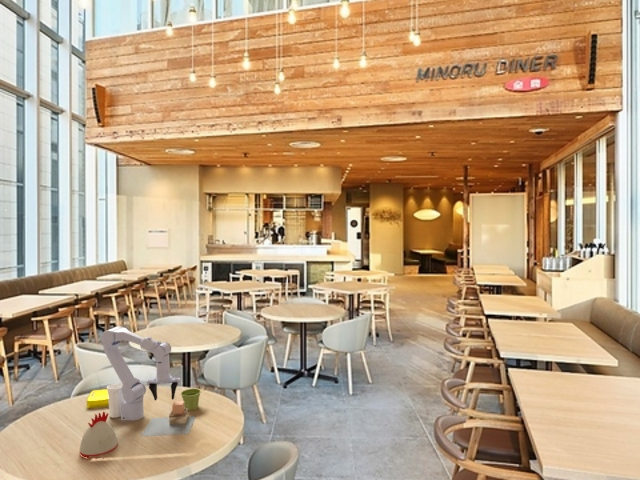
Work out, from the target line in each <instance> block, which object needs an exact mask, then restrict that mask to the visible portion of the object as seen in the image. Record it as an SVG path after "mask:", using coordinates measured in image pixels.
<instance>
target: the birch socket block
mask: <svg viewBox="0 0 640 480" xmlns="http://www.w3.org/2000/svg"><path fill="white" fill-rule="evenodd" d="M188 416H189V410H188V408H185V412H184V414H178V415H173V411H172V410H171V411H170V412H169V416H168V417H169V424H182V423H186V421H187V418H188Z"/></svg>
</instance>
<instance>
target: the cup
mask: <svg viewBox="0 0 640 480" xmlns="http://www.w3.org/2000/svg"><path fill="white" fill-rule="evenodd" d="M122 386H123V384H122V382H116V383H112V384H109V385H107V386H106V389H107V391H108V401H109V406H108V410H109V411H108V412H109V413H108V414H109V417H110V418H112V419H113V418H114V419H115V418H116V419H117V418H119V417H120V418H121V404H122V402H123V401H125V400H124V398H123V393H122V391H121V389H122Z"/></svg>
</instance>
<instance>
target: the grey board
mask: <svg viewBox="0 0 640 480" xmlns="http://www.w3.org/2000/svg"><path fill="white" fill-rule="evenodd" d="M196 417H197V416H196V415H188V418H187V421H186V423H182V424H169V416H167V417H165V416H164V417H152V418H150V420H149V422H148V423H147V425H146V427H145V429H144V430H143V431H142V433H141V435H140V437H153V436H171V435H173V436H174V435H175V436H176V435H189V434H190V433H191V429H192V427H193V424H194V422H195V420H196Z"/></svg>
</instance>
